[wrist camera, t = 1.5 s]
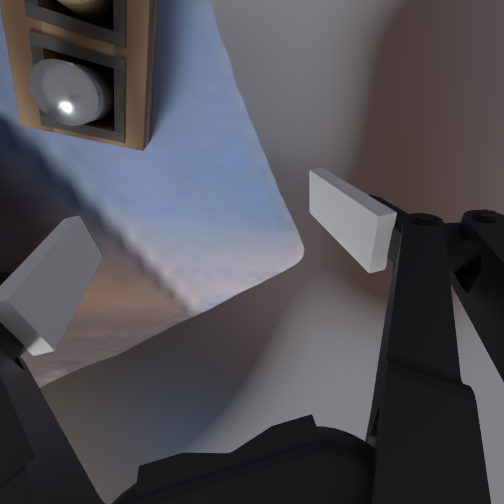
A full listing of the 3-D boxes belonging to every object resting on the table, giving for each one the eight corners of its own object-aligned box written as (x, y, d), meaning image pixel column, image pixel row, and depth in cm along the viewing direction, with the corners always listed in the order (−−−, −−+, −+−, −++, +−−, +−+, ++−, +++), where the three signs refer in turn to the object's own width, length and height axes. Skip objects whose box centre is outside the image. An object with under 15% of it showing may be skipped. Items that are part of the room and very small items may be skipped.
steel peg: (64, 112, 28) (34, 117, 23) (59, 58, 26) (23, 49, 20) (114, 123, 30) (97, 131, 24) (113, 73, 28) (94, 69, 22)
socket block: (50, 118, 33) (19, 125, 27) (25, -90, 24) (-30, -150, 18) (150, 141, 36) (142, 151, 30) (159, -33, 28) (151, -67, 22)
